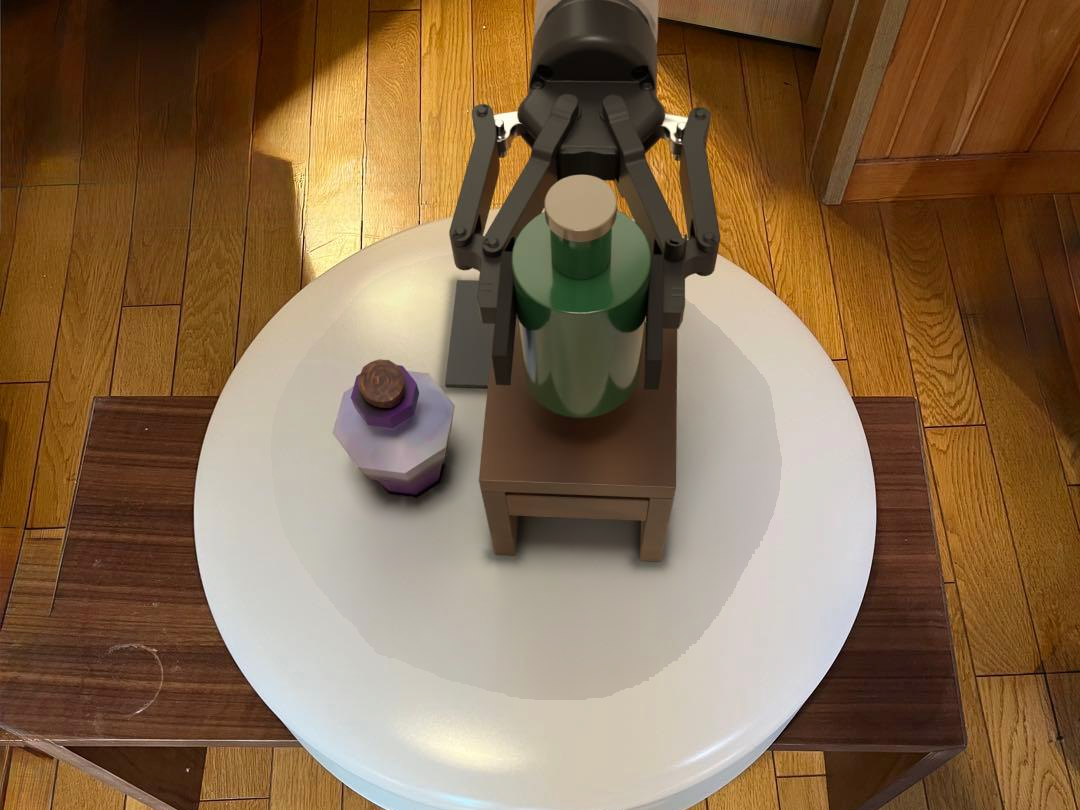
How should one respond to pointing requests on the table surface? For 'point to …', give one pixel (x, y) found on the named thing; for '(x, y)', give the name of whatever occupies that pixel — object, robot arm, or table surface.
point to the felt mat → (468, 341)
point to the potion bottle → (396, 427)
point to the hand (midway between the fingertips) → (576, 372)
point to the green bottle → (581, 299)
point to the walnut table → (581, 457)
